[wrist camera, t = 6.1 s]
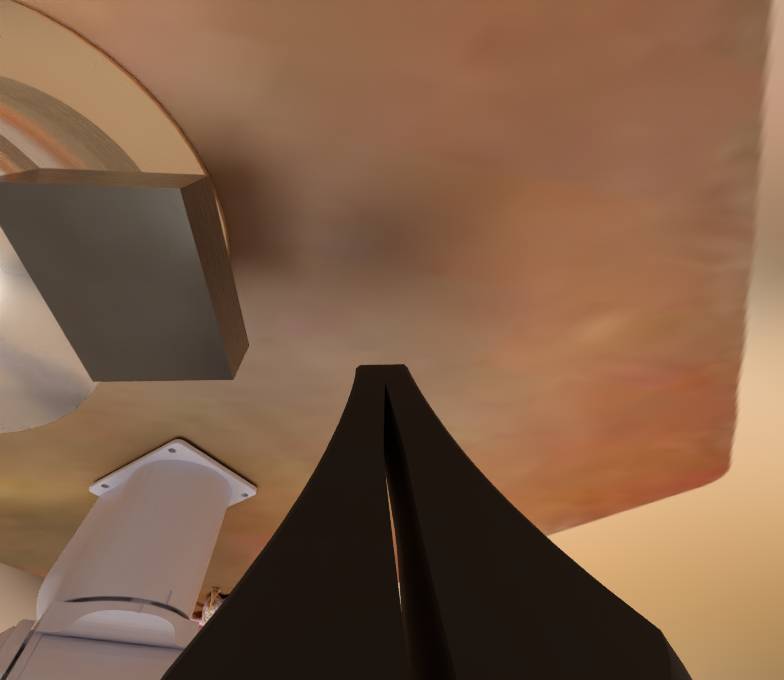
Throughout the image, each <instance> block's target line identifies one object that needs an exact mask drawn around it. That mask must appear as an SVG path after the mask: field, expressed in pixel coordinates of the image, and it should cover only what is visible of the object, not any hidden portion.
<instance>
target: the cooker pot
mask: <svg viewBox="0 0 784 680" xmlns="http://www.w3.org/2000/svg"><path fill="white" fill-rule="evenodd" d="M0 134H1V135H2V136H4V137H5V138H6V139H7V140H9V141H10V142H11V143H13V144H14V145H15V146H16V147H17V148H18V149H20V150H21V151H22V152H23V153H24V154H25V155H26V156H27V157H28V158H30V159H31V160H32V161H33V162H34V163H35V164H36V165H37V166H38V167H40V168H56V169H80V170H104V171H127V172H151V173H175V174H198V175H209V174H208V172H207V170H206V168H205V166H204V164H203V163H202V161H201V159H200V157H199V155H198V154H197V152H196V151H195V149H194V148H193V146H192V145H191V143H190V142H189V140H188V139H187V137H186V136H185V134H184V133H183V131H182V130H181V129H180V127H179V126H178V125H177V124H176V122H175V121H174V120H173V119H172V118H171V116H170V115H169V114H168V113H167V112H166V110H165V109H164V108H163V107H162V106H161V104H160V103H159V102H158V101H157V100H156V99H155V98H154V97H153V96H152V95H151V94H150V93H149V92H148V91H147V90H146V89H145V88H144V87H143V86H142V85H141V84H140V83H139V82H138V81H137V80H136V79H135V78H134V77H133V76H132V75H130V74H129V73H128V72H127V71H126V70H124V69H123V68H122V67H121V66H120V65H119V64H117V63H116V62H115V61H114V60H113V59H111V58H110V57H109V56H108V55H107V54H105V53H104V52H102V51H101V50H100V49H98V48H97V47H95V46H94V45H92V44H91V43H90V42H88V41H87V40H85V39H84V38H82V37H81V36H80V35H78V34H77V33H75V32H74V31H72V30H70V29H68V28H66V27H65V26H63V25H61V24H59V23H58V22H56V21H54V20H52V19H51V18H49V17H47V16H45V15H43V14H42V13H40V12H37V11H35V10H33V9H30V8H28V7H26V6H24V5H21V4H19V3H17V2H14V1H12V0H0ZM211 182H212V180H211ZM212 186H213V190H214V195H215V199H216V203H217V208H218V212H219V216H220V221H221V225H222V230H223V234H224V238H225V243H226V247H227V251H228V256H229V260H230V241H229V235H228V228H227V222H226V219H225V215H224V212H223V208H222V205H221V201H220V199H219V196H218V194H217V192H216V189H215V187H214V184H213V182H212Z"/></svg>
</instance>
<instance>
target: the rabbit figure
mask: <svg viewBox="0 0 784 680" xmlns="http://www.w3.org/2000/svg"><path fill="white" fill-rule="evenodd" d="M220 591H221V590H220ZM220 591H219V592H220ZM219 592H216V587H215V591H214V592H212V590H211V596H209V597H208V599H207V600H206V602H205V604H204V607H203V611H202V617H200V618H195V617H193V616H192V617H191V620H192V621H197V622H199V626H198V629H197V632H196V635H197V633H198V632H199V631H200V630H201V628H202V627H203V626H204V625H205V624H206V622H207V621H208V620H209V619H210V618H211V616H212V615H213V614H214V613H215V611H216V610H217V609H218V608H219V607H220V605H221V604H222V603H223V602H224V600H225V599H226V598H227V597H226V598H221V597H220V595H218V593H219ZM196 635H195V636H196Z"/></svg>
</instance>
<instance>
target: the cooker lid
mask: <svg viewBox="0 0 784 680" xmlns="http://www.w3.org/2000/svg"><path fill="white" fill-rule="evenodd" d="M248 347H249V343H248V338H247V334H246V330H245V325H244V321H243V317H242V312H241V308H240V304H239V299H238V295H237V291H236V286H235V282H234V277H233V273H232V269H231V264H230V260H229V256H228V251H227V247H226V243H225V238H224V234H223V230H222V225H221V221H220V216H219V212H218V208H217V203H216V199H215V195H214V190H213V186H212V182H211V177H210V175H198V174H175V173H151V172H127V171H104V170H80V169H56V168H40V167H38V166H37V165H36V164H35V163H34V162H33V161H32V160H31V159H30V158H28V157H27V156H26V155H25V154H24V153H23V152H22V151H21V150H20V149H18V148H17V147H16V146H15V145H14V144H13V143H11V142H10V141H9V140H7V139H6V138H5V137H4V136H2V135H1V134H0V433H10V432H16V431H22V430H28V429H32V428H35V427H39V426H42V425H46V424H48V423H51V422H53V421H55V420H57V419H60V418H62V417H64V416H65V415H67V414H68V413H70V412H71V411H73V410H74V409H76V408H77V407H78V406H79V405H80V404H81V403H82V402H83V401H84V400H85V399H86V398H87V397H88V396H89V395H90V394H91V393H92V392H93V391H94V390H95V389H96V388H97V386H98V385H99V384H100V383H101V382H109V381H175V380H234V377H235V375H236V373H237V371H238V369H239V366H240V364H241V362H242V360H243V358H244V355H245V353H246V351H247V349H248Z"/></svg>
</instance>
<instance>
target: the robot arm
mask: <svg viewBox="0 0 784 680" xmlns="http://www.w3.org/2000/svg"><path fill="white" fill-rule="evenodd" d="M385 472H386V473H385ZM386 478H387V483H386ZM387 484H388V490H389V497H390V503H391V509H392V516H393V522H394V528H395V536H396V544H397V556H398V569H399V583H400V595H401V604H400V597H399V588H398V580H397V572H396V563H395V555H394V547H393V538H392V529H391V520H390V511H389V502H388V493H387ZM89 491H90V492H91V493H93V494H95V495H98V496H99V498H98V499H97V501H96V502H95V504H94V505H93V507H92V508H91V510H90V511H89V513H88V514H87V516H86V517H85V519H84V520H83V522H82V524H81V525H80V527H79V528H78V530H77V531H76V533H75V534H74V536H73V537H72V539H71V540H70V542H69V543H68V545H67V546H66V548H65V549H64V551H63V552H62V554H61V555H60V557H59V558H58V560H57V561H56V563H55V564H54V566H53V567H52V569H51V570H50V572H49V573H48V575H47V576H46V578H45V580H44V582H43V584H42V586H41V589H40V591H39V595H38V599H37V610H36V613H37V620H38V622H37V623H36V625H35V626H34V628H33V629H32V630H31V628H32V626H33V625H34V623H35V621H33V620H26V619H25V620H22V621H20V622H19V623H18V624H17V625H16V627H15V626H13V627H11V628H9V629H7V630H6V631H4V632H2V633H1V634H0V680H692V679H691V677H690V675H689V674H688V672H687V670H686V668H685V667H684V665H683V663H682V662H681V661H680V659H679V657H678V656H677V655H676V653H675V651H674V650H673V649H672V647H671V646H670V644H669V643H668V641H667V639H666V638H665V636H664V635H663V633H662V632H661V630H660V629H658V628H657V627H656V626H654V625H653V624H652V623H651V622H649V621H648V620H647V619H645V618H644V617H643V616H642V615H640V614H639V613H638V612H636V611H635V610H634V609H633V608H631V607H630V606H629V605H628V604H626V603H625V602H624V601H622V600H621V599H620V598H618V597H617V596H616V595H615V594H613V593H612V592H611V591H610V590H608V589H607V588H606V587H605V586H603V585H602V584H601V583H600V582H599V581H597V580H596V579H595V578H594V577H592V576H591V575H590V574H589V573H588V572H586V571H585V570H584V569H583V568H582V567H581V566H579V565H578V564H577V563H576V562H574V560H572V559H571V558H570V557H569V556H568V555H567V554H565V553H564V552H563V551H562V550H560V548H558V547H557V546H556V545H555V544H554V543H553V542H552V541H551V540H550V539H548V538H547V537H546V536H545V535H544V534H543V533H542V532H541V531H540V530H539V529H538V528H537V527H536V526H535V525H533V524H532V523H531V522H530V521H529V520H528V519H527V518H526V517H525V516H524V515H523V514H522V513H521V512H520V511H518V510H517V509H516V508H515V507H514V506H513V505H512V504H511V503H510V502H509V501H508V500H507V499H506V498H505V497H504V496H503V495H502V494H501V493H500V492H499V491H498V489H497V488H496V487H495V486H494V485H493V484H492V483H491V482H490V481H489V480H488V479H487V478H486V477H485V476H484V475H483V473H482V472H481V471H480V470H479V469H478V468H477V467H476V466H475V464H474V463H473V462H472V461H471V460H470V459H469V457H468V456H467V455H466V454H465V453H464V451H463V450H462V449H461V448H460V446H459V445H458V444H457V443H456V441H455V440H454V439H453V438H452V436H451V435H450V434H449V432H448V431H447V430H446V428H445V427H444V426H443V424H442V423H441V421H440V420H439V419H438V417H437V416H436V414H435V413H434V411H433V410H432V408H431V407H430V406H429V404H428V402H427V401H426V399H425V398H424V396H423V395H422V393H421V391H420V390H419V388H418V386H417V385H416V383H415V381H414V379H413V377H412V376H411V374H410V372H409V370H408V368H407V367H406V366H405V365H404V364H396V365H360V366H359V367H357V368H356V374H355V379H354V383H353V387H352V390H351V393H350V396H349V399H348V402H347V404H346V407H345V409H344V412H343V414H342V417H341V419H340V422H339V424H338V426H337V428H336V430H335V432H334V434H333V436H332V438H331V440H330V442H329V444H328V447H327V449H326V451H325V453H324V454H323V456H322V458H321V460H320V462H319V464H318V466H317V467H316V469H315V471H314V473H313V474H312V476H311V478H310V479H309V481H308V483H307V484H306V486H305V488H304V489H303V491H302V493H301V494H300V496H299V497H298V499H297V500H296V502H295V503H294V505H293V507H292V508H291V510H290V511H289V513H288V514H287V516H286V517H285V519H284V520H283V522H282V523H281V525H280V526H279V528H278V529H277V531H276V532H275V533H274V535H273V536H272V538H271V539H270V541H269V542H268V543H267V545H266V546H265V547H264V549H263V550H262V551H261V553H260V554H259V555H258V557H257V558H256V559H255V561H254V562H253V563H252V565H251V566H250V568H249V569H248V570H247V572H246V573H245V574H244V576H243V577H242V578H241V580H240V581H239V582H238V584H237V585H236V586H235V588H234V589H233V590H232V591H231V593H230V594H229V595H228V597H227V598H226V599H225V600H224V602H223V603H222V604H221V605H220V607H219V608H218V609H217V610H216V611H215V613H214V614H213V615H212V616H211V618H210V619H209V620H208V621H207V622H206V624H205V625H204V626H203V627H202V628H201V630H200V631H199V632H198V633H197V635H196V632H197V629H198V626H199V622H197V621H192V620H191V617H192V614H193V611H194V608H195V605H196V602H197V599H198V596H199V593H200V590H201V587H202V584H203V581H204V578H205V575H206V571H207V568H208V565H209V562H210V559H211V556H212V553H213V550H214V547H215V544H216V541H217V538H218V535H219V532H220V529H221V525H222V522H223V519H224V516H225V513H226V510H227V507H229V506H232V505H234V504H236V503H238V502H240V501H243V500H245V499H247V498H249V497H251V496H254V495H255V494H256V492H257V488H256V487H255V486H254V485H252V484H250V483H249V482H247V481H246V480H244V479H243V478H241V477H240V476H238V475H237V474H235V473H233V472H232V471H230V470H229V469H227V468H226V467H224V466H223V465H221V464H219V463H218V462H216V461H215V460H213V459H212V458H210V457H209V456H207V455H206V454H204V453H202V452H201V451H199V450H198V449H196V448H195V447H193V446H192V445H190V444H188V443H187V442H185V441H184V440H181V439H175V440H173V441H171V442H169V443H167V444H165V445H163V446H162V447H160V448H158V449H156V450H154V451H152V452H150V453H149V454H147V455H145V456H143V457H141V458H139V459H137V460H136V461H134V462H132V463H130V464H128V465H126V466H124V467H123V468H121V469H119V470H117V471H115V472H113V473H111V474H110V475H108V476H106V477H104V478H102V479H100V480H98V481H97V482H95V483H93V484H92V485H91V486H90V488H89ZM401 611H402V612H401ZM195 635H196V636H195Z"/></svg>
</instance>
